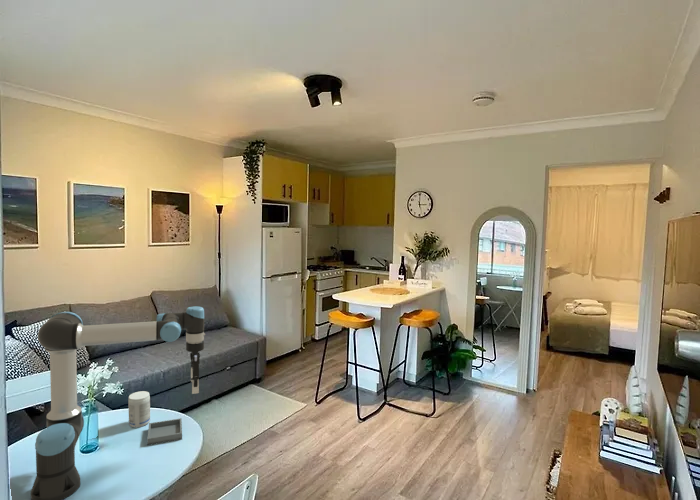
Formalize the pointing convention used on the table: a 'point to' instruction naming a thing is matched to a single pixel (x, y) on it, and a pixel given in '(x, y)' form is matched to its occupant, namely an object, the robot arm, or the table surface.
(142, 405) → the supplement tub
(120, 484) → the table surface
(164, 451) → the table surface
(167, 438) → the tray
